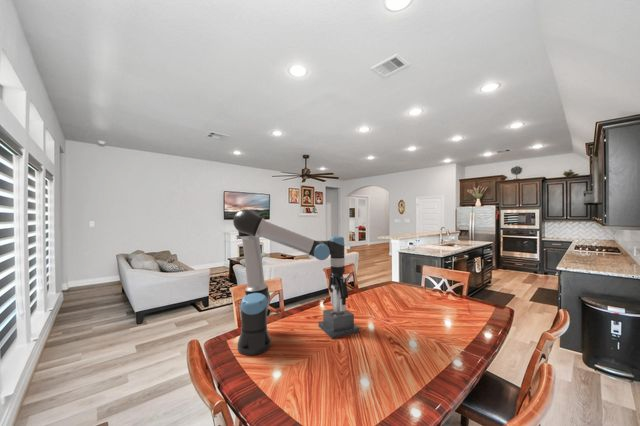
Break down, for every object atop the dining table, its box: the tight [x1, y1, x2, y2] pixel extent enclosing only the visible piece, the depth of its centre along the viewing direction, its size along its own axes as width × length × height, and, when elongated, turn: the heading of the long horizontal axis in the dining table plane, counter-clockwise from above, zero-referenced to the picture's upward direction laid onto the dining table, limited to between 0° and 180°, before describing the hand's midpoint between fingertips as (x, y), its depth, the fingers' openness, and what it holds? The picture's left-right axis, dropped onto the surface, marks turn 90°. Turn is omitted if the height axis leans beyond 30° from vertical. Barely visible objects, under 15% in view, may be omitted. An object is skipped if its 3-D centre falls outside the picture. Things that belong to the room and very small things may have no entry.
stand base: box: [318, 308, 360, 340], centre depth 141 cm, size 16×16×10 cm
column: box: [331, 284, 343, 315], centre depth 141 cm, size 6×4×24 cm
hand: (338, 307), depth 141 cm, fingers open, 10 cm apart
